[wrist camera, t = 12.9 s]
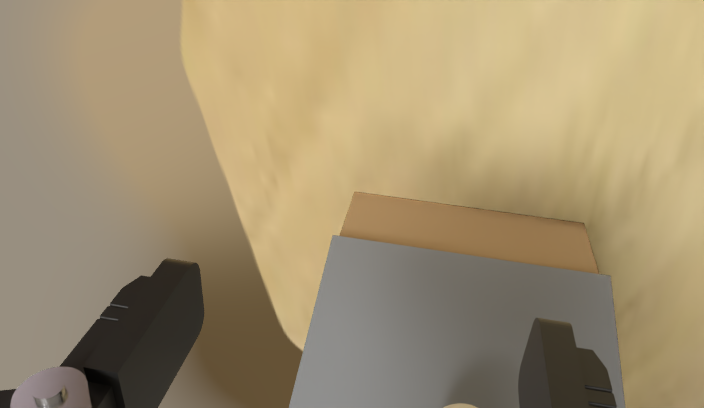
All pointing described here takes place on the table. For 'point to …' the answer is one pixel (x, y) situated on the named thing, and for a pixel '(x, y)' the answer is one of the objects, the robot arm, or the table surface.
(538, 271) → the lid
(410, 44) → the table surface
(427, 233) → the mailer box
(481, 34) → the table surface
